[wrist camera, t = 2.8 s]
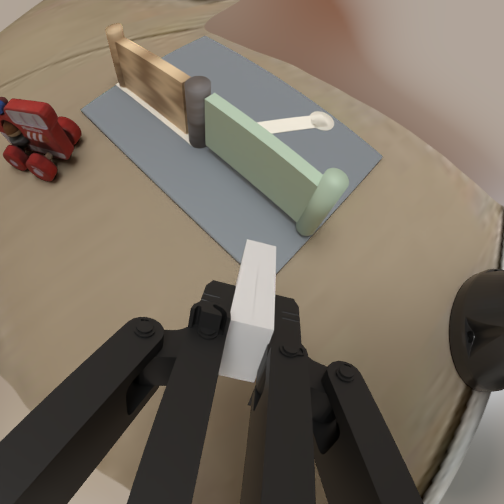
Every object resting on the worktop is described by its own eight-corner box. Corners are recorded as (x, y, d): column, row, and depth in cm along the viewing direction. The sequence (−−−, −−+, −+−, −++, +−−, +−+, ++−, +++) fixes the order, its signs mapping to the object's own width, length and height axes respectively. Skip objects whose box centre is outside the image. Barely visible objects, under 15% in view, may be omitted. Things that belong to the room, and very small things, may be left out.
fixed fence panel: (215, 142, 34) (216, 75, 25) (199, 154, 34) (195, 88, 24) (130, 78, 37) (118, 21, 27) (116, 87, 36) (101, 30, 27)
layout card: (381, 158, 36) (383, 156, 36) (264, 286, 30) (264, 285, 29) (205, 37, 41) (205, 35, 40) (81, 111, 34) (80, 109, 34)
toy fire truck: (32, 124, 33) (2, 73, 23) (95, 141, 33) (68, 80, 23) (3, 165, 31) (-35, 118, 21) (64, 190, 31) (23, 134, 21)
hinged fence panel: (202, 149, 33) (200, 89, 24) (216, 139, 33) (218, 78, 25) (307, 240, 31) (339, 196, 22) (319, 226, 31) (353, 180, 23)
